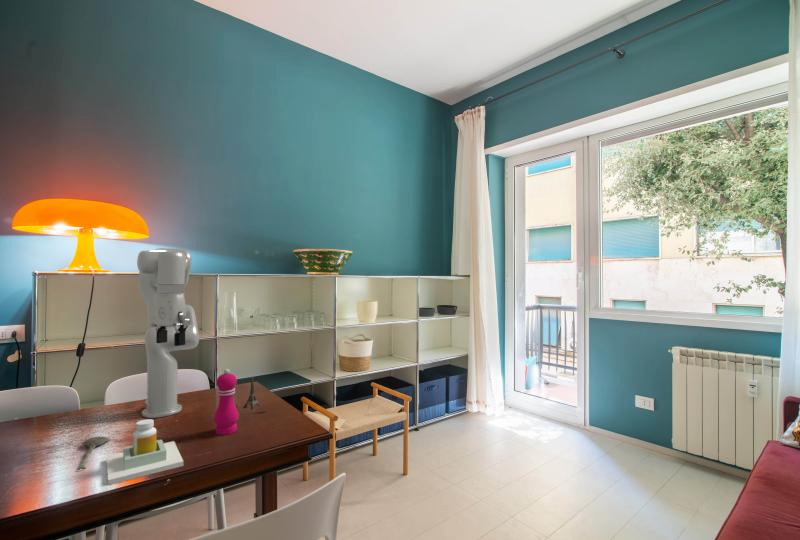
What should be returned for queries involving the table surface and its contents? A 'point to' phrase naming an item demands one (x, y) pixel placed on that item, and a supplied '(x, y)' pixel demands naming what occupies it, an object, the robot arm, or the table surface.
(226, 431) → the pepper mill
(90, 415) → the table surface
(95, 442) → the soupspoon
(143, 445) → the supplement bottle
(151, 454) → the cup holder
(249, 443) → the table surface
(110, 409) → the table surface
